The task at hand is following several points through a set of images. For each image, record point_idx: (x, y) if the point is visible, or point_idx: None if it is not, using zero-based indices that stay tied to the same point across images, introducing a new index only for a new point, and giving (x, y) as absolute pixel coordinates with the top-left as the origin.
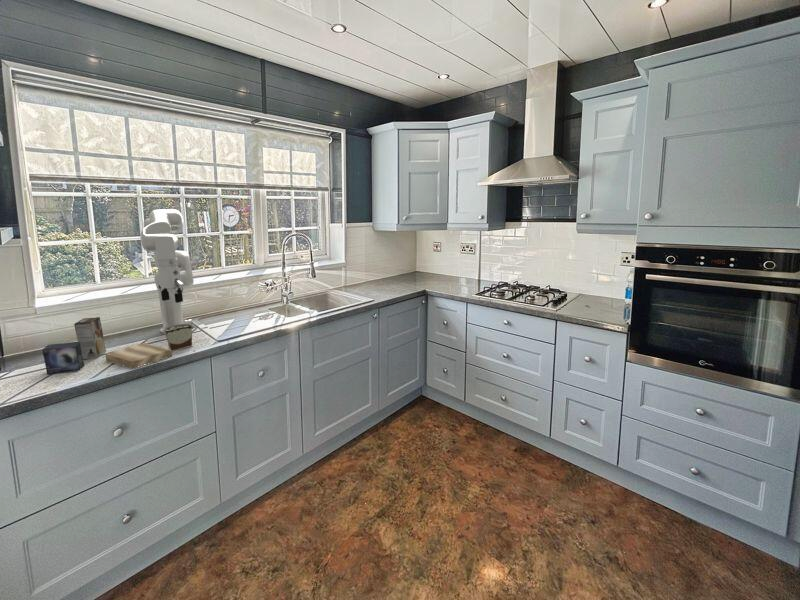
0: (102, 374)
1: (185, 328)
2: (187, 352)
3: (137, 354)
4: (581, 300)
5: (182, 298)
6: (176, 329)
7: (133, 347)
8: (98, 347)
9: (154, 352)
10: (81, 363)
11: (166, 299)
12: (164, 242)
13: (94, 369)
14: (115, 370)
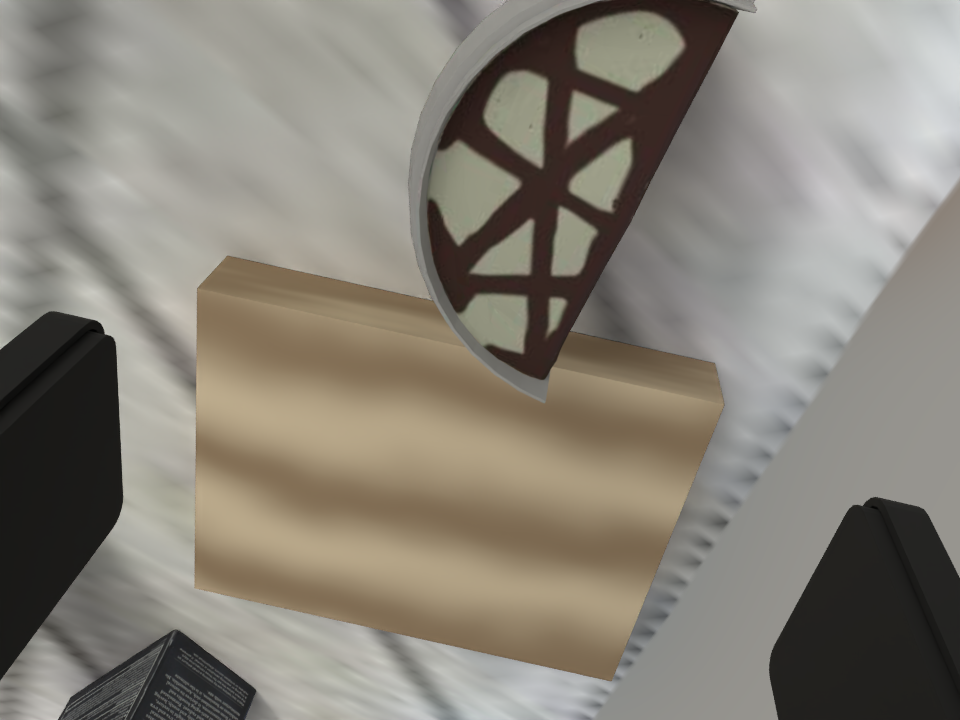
0: (480, 717)
1: (681, 113)
2: (812, 233)
3: (491, 561)
4: None
5: (958, 588)
6: (610, 253)
7: (250, 426)
8: None
9: (610, 500)
10: (203, 686)
11: (112, 438)
12: None
13: (331, 668)
14: (499, 664)
